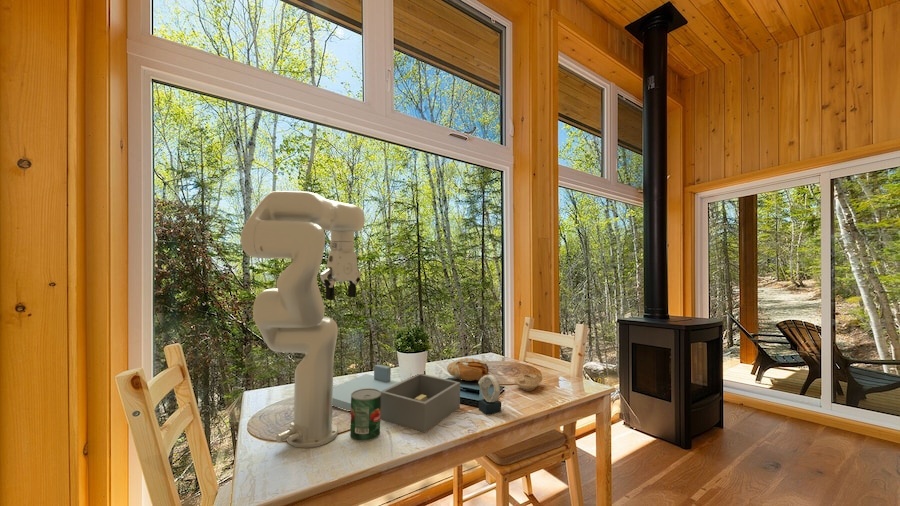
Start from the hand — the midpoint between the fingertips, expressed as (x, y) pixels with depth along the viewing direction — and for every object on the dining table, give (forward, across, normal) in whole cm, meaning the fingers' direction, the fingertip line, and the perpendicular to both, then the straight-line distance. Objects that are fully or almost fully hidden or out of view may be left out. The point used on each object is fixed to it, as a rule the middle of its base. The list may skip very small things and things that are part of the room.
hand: (341, 298), depth 122 cm
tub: (+33, +5, -30) cm, 45 cm away
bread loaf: (+34, +39, -30) cm, 60 cm away
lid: (+33, +5, -6) cm, 34 cm away
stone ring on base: (+34, +18, -47) cm, 60 cm away
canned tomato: (+34, -14, -25) cm, 44 cm away
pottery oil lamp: (+34, +44, -52) cm, 76 cm away
